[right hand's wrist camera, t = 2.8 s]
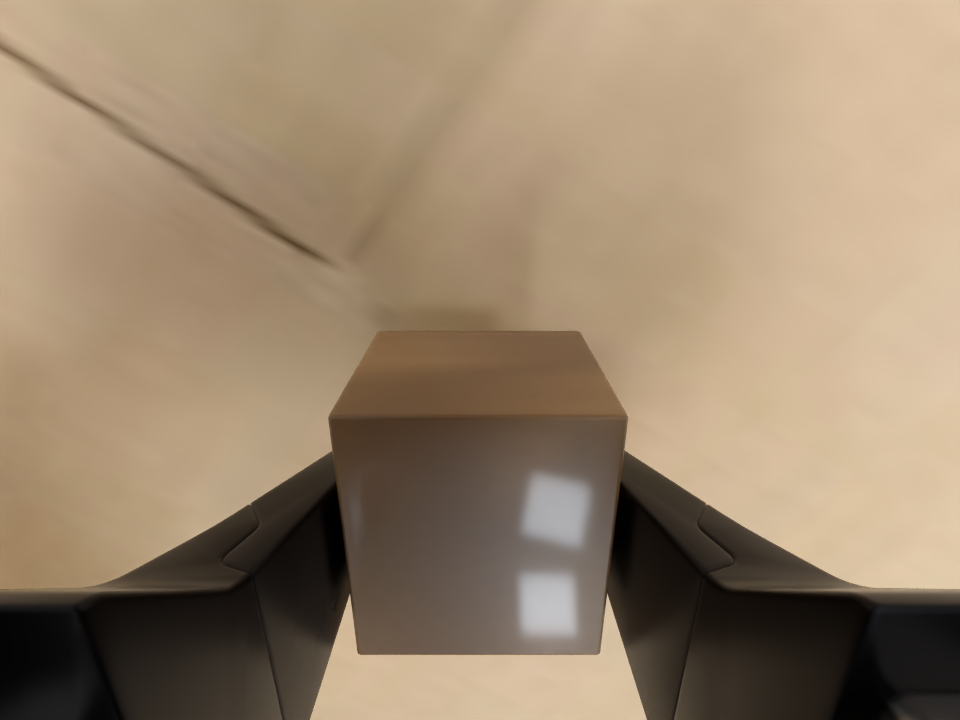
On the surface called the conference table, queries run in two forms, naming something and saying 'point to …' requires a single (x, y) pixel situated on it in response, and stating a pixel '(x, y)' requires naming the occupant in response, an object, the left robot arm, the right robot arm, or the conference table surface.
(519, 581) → the block
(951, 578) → the conference table surface
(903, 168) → the conference table surface
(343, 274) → the conference table surface
